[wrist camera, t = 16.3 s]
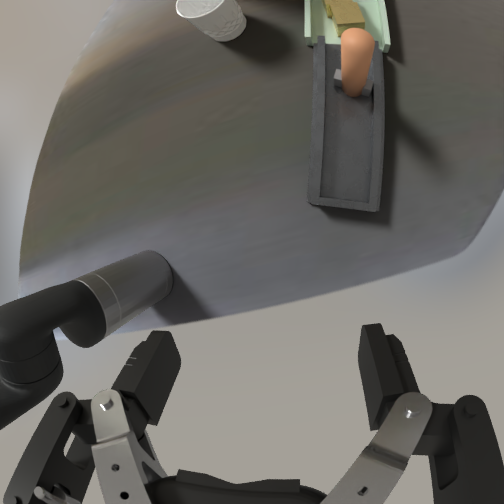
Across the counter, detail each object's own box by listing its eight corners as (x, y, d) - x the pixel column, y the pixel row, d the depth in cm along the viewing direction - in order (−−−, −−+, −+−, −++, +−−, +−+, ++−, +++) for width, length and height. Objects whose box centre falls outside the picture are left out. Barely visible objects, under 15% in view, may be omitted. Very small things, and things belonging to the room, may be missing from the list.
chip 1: (327, 17, 30) (325, 4, 26) (321, 0, 29) (318, -14, 25) (353, 15, 29) (353, 2, 25) (345, -2, 28) (345, -16, 24)
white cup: (219, 6, 34) (193, -23, 25) (258, 14, 33) (238, -19, 24) (197, 39, 37) (166, 15, 28) (236, 49, 36) (209, 21, 27)
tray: (307, 45, 33) (304, 36, 30) (306, -16, 29) (303, -26, 26) (387, 53, 30) (390, 44, 27) (378, -11, 26) (380, -21, 23)
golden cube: (337, 36, 31) (337, 24, 27) (331, 17, 30) (329, 4, 26) (363, 35, 29) (365, 22, 26) (356, 15, 29) (356, 2, 25)
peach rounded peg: (332, 90, 33) (327, 45, 20) (338, 71, 32) (335, 21, 19) (367, 102, 32) (380, 62, 19) (372, 83, 31) (386, 37, 18)
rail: (307, 201, 39) (304, 203, 35) (314, 45, 33) (311, 35, 29) (378, 210, 36) (381, 213, 33) (381, 52, 30) (384, 42, 27)
